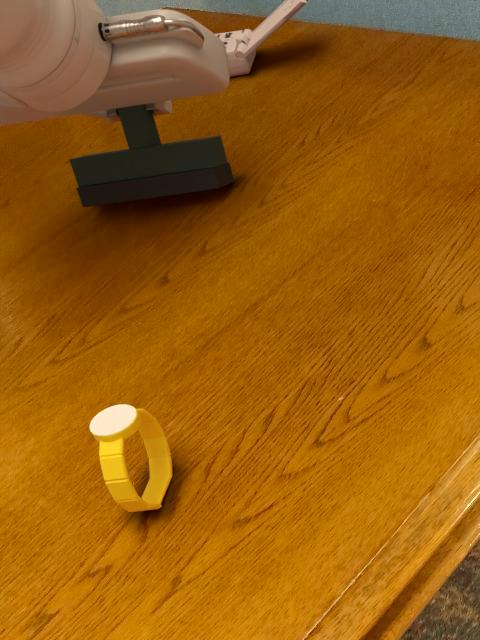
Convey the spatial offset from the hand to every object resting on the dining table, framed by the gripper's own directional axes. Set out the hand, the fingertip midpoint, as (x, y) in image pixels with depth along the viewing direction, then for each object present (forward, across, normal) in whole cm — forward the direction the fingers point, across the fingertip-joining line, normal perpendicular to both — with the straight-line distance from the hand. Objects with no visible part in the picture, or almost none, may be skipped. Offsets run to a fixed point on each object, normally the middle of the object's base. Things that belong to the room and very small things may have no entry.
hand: (140, 108), depth 83 cm
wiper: (+1, 0, +7) cm, 7 cm away
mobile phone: (+20, +2, -11) cm, 23 cm away
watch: (-23, -9, +32) cm, 41 cm away
